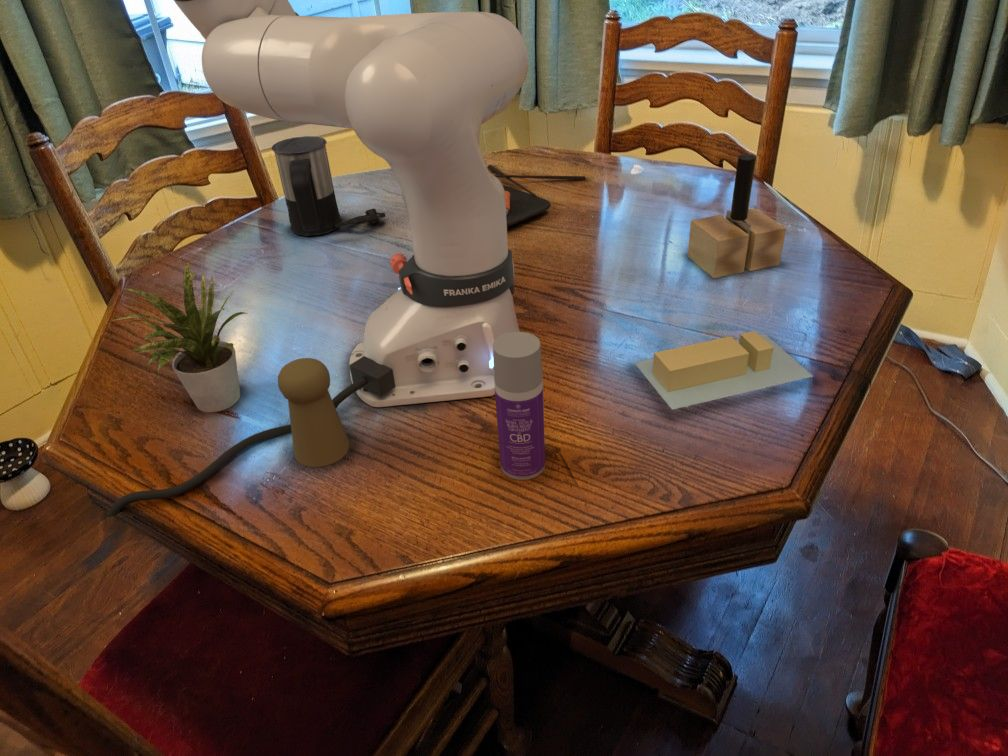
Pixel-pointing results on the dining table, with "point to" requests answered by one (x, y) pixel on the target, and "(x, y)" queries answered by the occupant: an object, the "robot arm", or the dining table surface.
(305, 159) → the milk frother
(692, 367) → the butter stick
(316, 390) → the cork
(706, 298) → the dining table surface
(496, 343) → the container
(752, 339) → the butter pat
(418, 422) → the dining table surface
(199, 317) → the house plant
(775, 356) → the butter dish
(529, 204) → the sushi plate
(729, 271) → the knife block
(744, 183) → the knife
